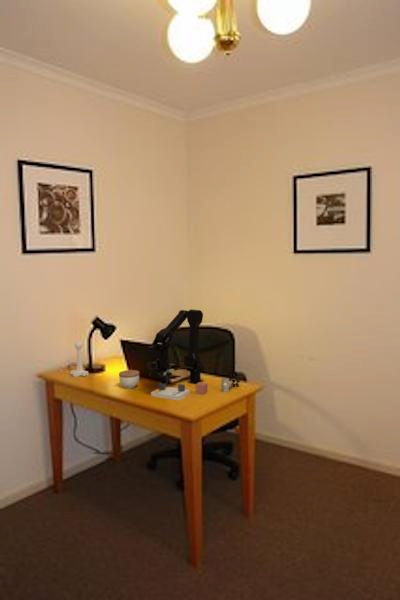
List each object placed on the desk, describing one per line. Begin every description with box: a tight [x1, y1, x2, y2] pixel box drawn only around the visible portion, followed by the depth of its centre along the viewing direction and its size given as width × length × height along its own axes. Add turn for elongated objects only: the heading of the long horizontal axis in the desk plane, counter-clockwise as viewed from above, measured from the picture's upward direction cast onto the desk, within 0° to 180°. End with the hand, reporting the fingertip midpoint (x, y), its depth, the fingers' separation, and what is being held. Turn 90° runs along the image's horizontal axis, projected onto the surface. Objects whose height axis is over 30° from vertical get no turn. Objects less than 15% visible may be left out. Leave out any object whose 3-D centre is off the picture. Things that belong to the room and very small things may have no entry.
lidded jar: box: [118, 369, 140, 390], centre depth 247 cm, size 11×11×9 cm
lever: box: [177, 383, 186, 391], centre depth 232 cm, size 2×3×3 cm, turn 63°
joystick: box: [69, 340, 89, 378], centre depth 271 cm, size 11×8×20 cm
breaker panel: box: [150, 386, 191, 401], centre depth 233 cm, size 11×16×3 cm
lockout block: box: [195, 381, 209, 396], centre depth 235 cm, size 4×4×5 cm
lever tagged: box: [158, 382, 167, 390], centre depth 235 cm, size 2×3×3 cm, turn 63°
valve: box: [220, 374, 241, 394], centre depth 240 cm, size 7×7×12 cm
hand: (164, 387), depth 237 cm, fingers closed
